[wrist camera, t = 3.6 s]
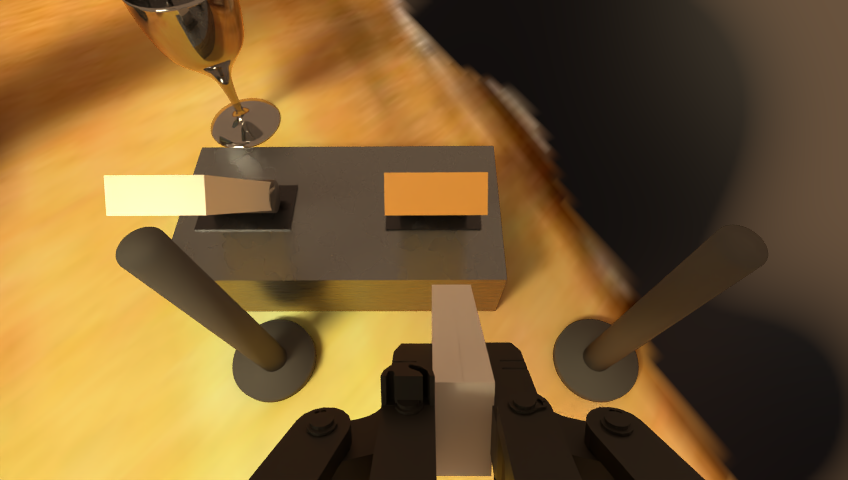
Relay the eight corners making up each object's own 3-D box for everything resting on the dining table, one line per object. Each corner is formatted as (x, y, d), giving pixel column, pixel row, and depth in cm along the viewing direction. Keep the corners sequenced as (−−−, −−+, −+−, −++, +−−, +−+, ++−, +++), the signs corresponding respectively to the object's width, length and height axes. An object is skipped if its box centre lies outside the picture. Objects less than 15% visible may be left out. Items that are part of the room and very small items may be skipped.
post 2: (536, 347, 34) (631, 224, 18) (596, 309, 35) (731, 164, 19) (589, 418, 31) (753, 348, 15) (651, 374, 33) (857, 268, 17)
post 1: (225, 347, 34) (51, 226, 18) (297, 309, 35) (193, 167, 20) (252, 418, 31) (76, 349, 16) (329, 374, 33) (237, 270, 17)
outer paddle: (467, 211, 33) (487, 218, 22) (399, 211, 33) (384, 218, 22) (467, 179, 33) (488, 169, 21) (399, 179, 33) (384, 169, 21)
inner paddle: (281, 212, 33) (206, 219, 22) (215, 212, 33) (106, 219, 22) (279, 180, 33) (203, 170, 22) (213, 180, 33) (103, 171, 22)
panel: (495, 310, 35) (507, 278, 30) (198, 311, 35) (156, 279, 30) (485, 189, 41) (493, 144, 36) (230, 190, 41) (201, 146, 36)
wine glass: (221, 163, 43) (130, 21, 30) (196, 113, 46) (105, -33, 33) (296, 131, 45) (242, -15, 32) (267, 86, 48) (207, -63, 35)
